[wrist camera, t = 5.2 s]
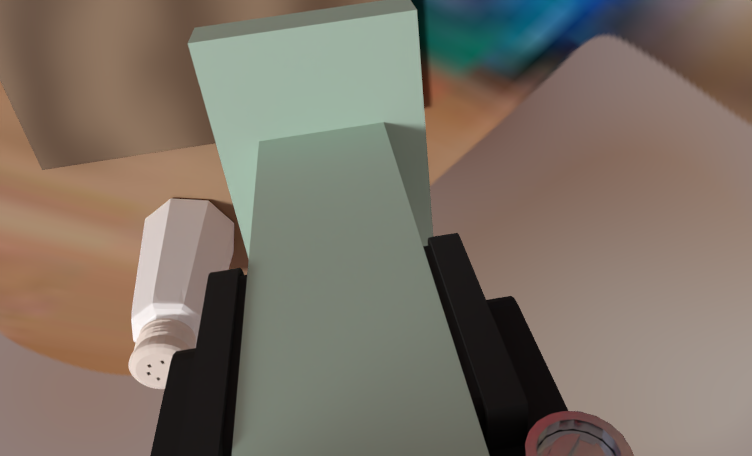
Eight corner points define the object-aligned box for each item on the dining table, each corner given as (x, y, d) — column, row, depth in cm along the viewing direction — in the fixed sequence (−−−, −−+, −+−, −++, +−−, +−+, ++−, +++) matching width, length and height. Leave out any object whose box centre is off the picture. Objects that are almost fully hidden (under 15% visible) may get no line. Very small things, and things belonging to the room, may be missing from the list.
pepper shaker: (167, 280, 38) (131, 423, 29) (126, 210, 35) (71, 345, 26) (250, 256, 38) (240, 393, 29) (216, 183, 35) (192, 310, 26)
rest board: (394, -150, 27) (398, -149, 27) (415, 104, 34) (418, 111, 33) (-66, -87, 27) (-77, -83, 26) (48, 161, 33) (42, 169, 32)
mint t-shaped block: (408, -4, 14) (624, 313, 5) (429, 266, 19) (565, 696, 10) (194, 27, 14) (23, 413, 5) (266, 292, 19) (247, 757, 9)
